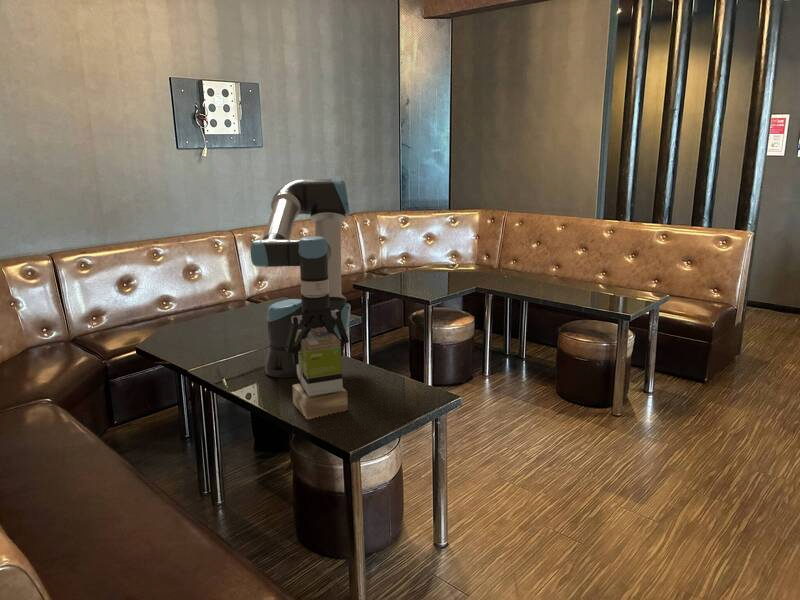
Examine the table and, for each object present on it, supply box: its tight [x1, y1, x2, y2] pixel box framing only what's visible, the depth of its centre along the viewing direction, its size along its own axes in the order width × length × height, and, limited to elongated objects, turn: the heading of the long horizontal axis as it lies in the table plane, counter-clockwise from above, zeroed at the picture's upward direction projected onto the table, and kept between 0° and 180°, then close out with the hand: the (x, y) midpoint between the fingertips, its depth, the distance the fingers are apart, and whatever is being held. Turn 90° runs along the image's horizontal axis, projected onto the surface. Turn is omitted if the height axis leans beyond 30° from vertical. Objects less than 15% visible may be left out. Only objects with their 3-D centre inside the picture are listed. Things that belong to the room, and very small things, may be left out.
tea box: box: [295, 327, 344, 396], centre depth 167 cm, size 15×10×15 cm, turn 21°
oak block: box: [291, 382, 349, 420], centre depth 170 cm, size 12×12×6 cm
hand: (318, 371), depth 168 cm, fingers closed on tea box, 10 cm apart
